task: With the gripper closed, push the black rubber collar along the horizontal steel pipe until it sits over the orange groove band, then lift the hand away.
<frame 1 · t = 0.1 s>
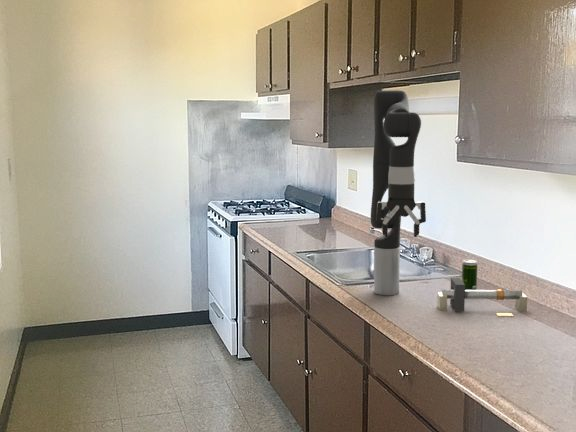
hand: (400, 236, 191), 29 cm above the worktop, tool pointing down, fingers open, 8 cm apart
collar: (457, 294, 217), point 5 cm above the worktop, slide at -8.0 cm
pipe: (481, 308, 218), on the worktop
beer can: (468, 293, 237), on the worktop
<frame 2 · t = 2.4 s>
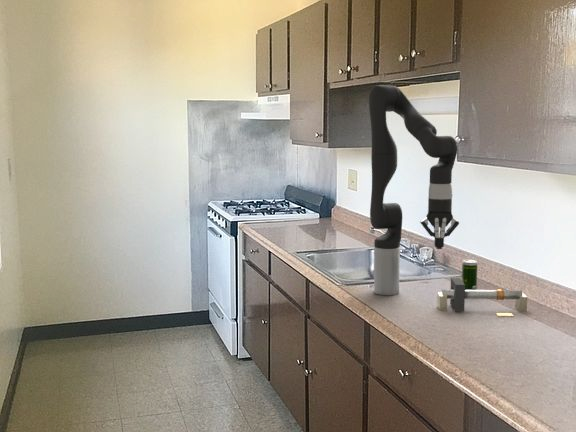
hand: (438, 248, 216), 21 cm above the worktop, tool pointing down, fingers closed
nothing on the worktop moved.
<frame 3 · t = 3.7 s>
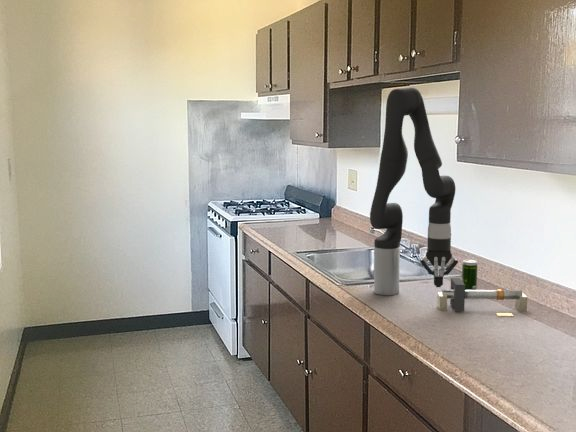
hand: (438, 286, 217), 8 cm above the worktop, tool pointing down, fingers closed
nothing on the worktop moved.
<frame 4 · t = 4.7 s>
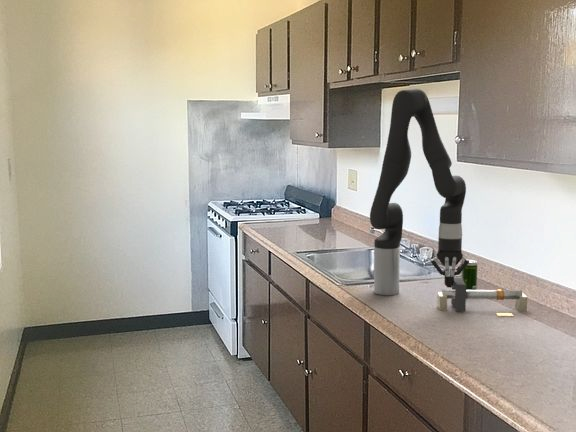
hand: (448, 286, 217), 8 cm above the worktop, tool pointing down, fingers closed
collar: (458, 294, 217), point 5 cm above the worktop, slide at -7.6 cm, touching gripper
everything else where it was.
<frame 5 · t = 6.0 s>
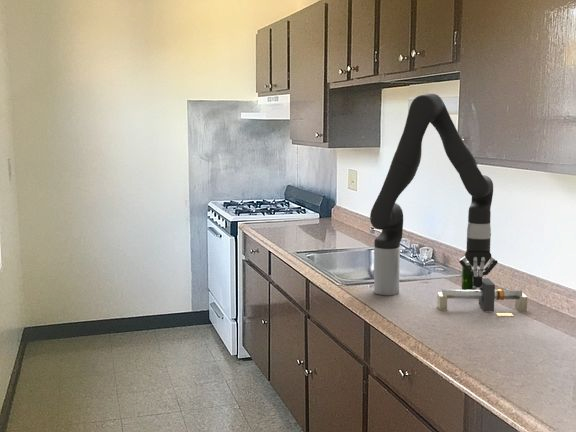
hand: (477, 287, 216), 8 cm above the worktop, tool pointing down, fingers closed
collar: (486, 294, 217), point 5 cm above the worktop, slide at 1.6 cm, touching gripper
everything else where it was.
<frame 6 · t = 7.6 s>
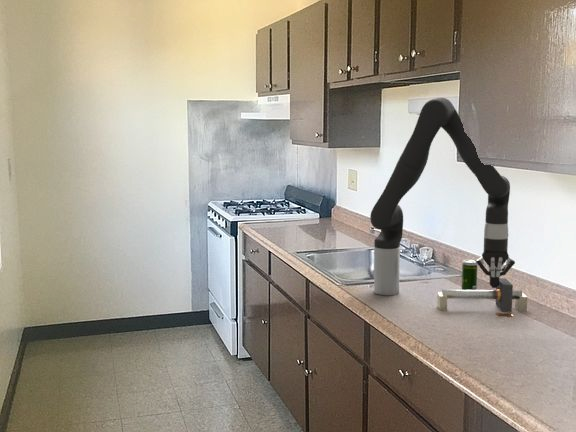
hand: (494, 287, 216), 8 cm above the worktop, tool pointing down, fingers closed
collar: (503, 294, 216), point 5 cm above the worktop, slide at 7.3 cm, touching gripper
everything else where it was.
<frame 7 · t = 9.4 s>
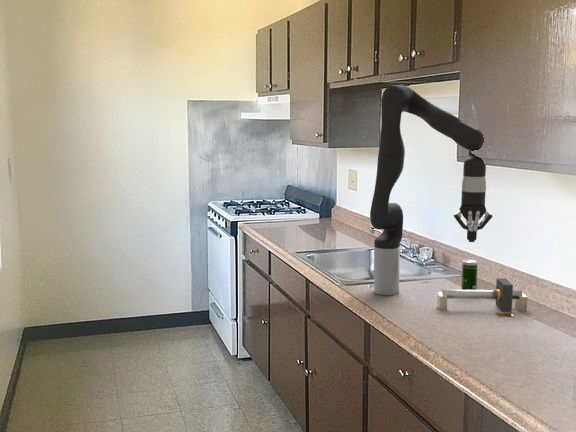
hand: (471, 241, 215), 23 cm above the worktop, tool pointing down, fingers closed
collar: (503, 294, 216), point 5 cm above the worktop, slide at 7.3 cm
everything else where it was.
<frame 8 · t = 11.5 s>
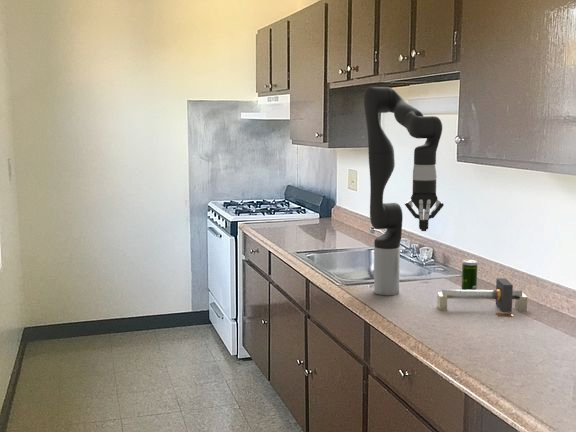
hand: (423, 230, 213), 27 cm above the worktop, tool pointing down, fingers closed
nothing on the worktop moved.
at the end: collar slide at 7.3 cm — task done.
